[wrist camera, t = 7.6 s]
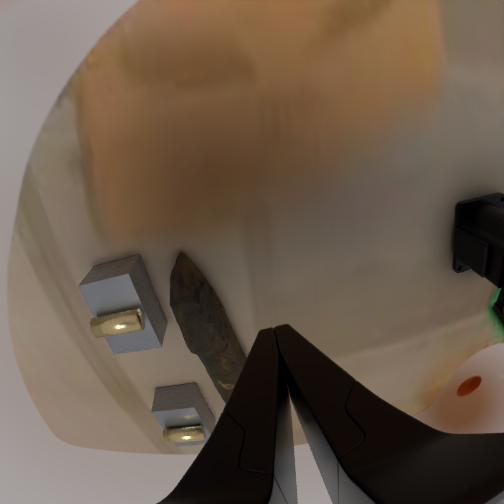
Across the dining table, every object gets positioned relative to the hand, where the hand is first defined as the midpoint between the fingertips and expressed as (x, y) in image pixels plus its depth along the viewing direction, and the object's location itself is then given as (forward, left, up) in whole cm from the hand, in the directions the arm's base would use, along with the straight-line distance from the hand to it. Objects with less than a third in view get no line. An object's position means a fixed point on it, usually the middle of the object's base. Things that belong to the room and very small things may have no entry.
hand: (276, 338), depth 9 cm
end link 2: (+10, +17, -13) cm, 24 cm away
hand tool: (+5, +11, -14) cm, 18 cm away
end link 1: (+10, +4, -13) cm, 17 cm away
